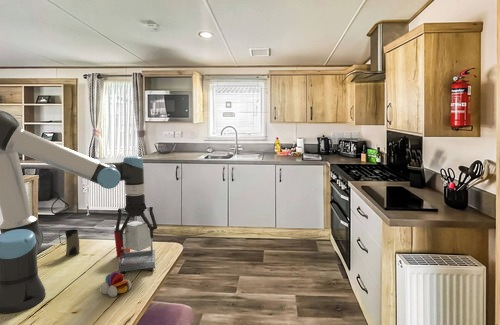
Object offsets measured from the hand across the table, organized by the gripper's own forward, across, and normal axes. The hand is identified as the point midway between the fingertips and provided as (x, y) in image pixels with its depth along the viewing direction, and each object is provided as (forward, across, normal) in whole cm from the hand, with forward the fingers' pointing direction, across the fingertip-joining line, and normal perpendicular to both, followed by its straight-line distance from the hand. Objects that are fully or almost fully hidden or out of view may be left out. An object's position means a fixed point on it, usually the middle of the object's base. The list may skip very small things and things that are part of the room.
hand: (137, 246), depth 143 cm
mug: (+9, -31, +22) cm, 39 cm away
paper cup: (+9, -7, +14) cm, 18 cm away
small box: (+1, 0, 0) cm, 1 cm away
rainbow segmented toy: (+9, -6, -21) cm, 24 cm away
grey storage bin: (+9, 0, 0) cm, 9 cm away
